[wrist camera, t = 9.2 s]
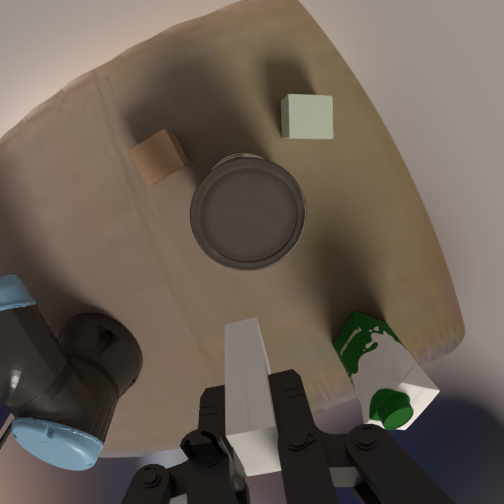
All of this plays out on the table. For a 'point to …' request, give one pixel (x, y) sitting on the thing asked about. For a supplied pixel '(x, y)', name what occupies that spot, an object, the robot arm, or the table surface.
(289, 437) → the robot arm
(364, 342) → the milk carton
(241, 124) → the table surface
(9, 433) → the dark capped bottle
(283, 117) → the sage block
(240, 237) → the coffee can
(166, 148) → the brown wooden cube
